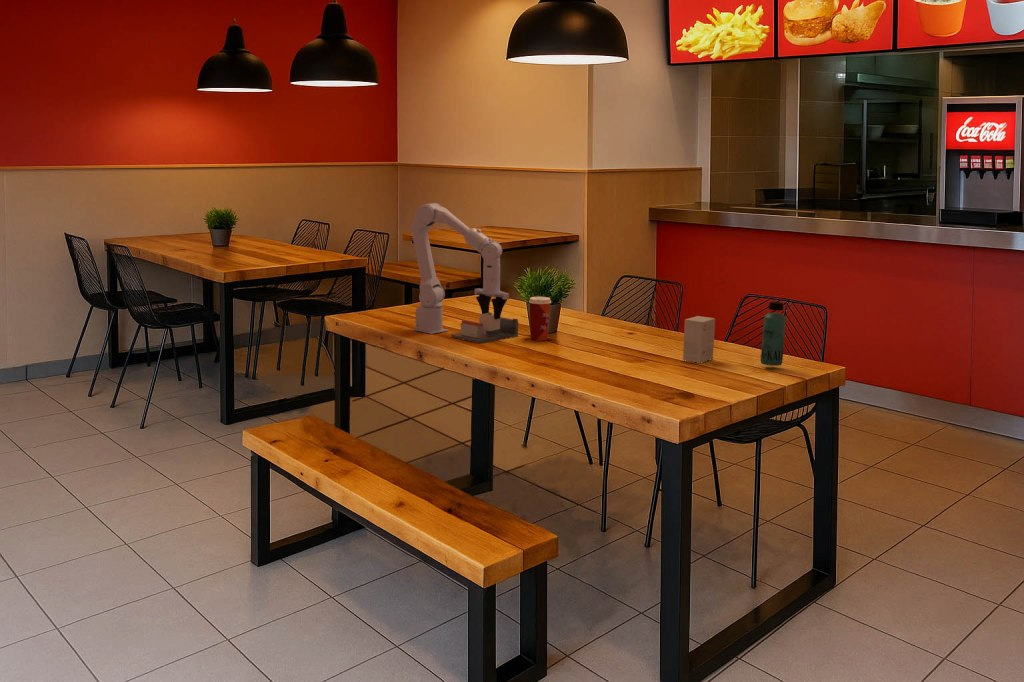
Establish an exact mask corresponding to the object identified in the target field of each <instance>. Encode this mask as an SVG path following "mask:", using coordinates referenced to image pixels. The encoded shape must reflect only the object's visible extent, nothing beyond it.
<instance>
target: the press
mask: <svg viewBox="0 0 1024 682" xmlns="http://www.w3.org/2000/svg"><path fill="white" fill-rule="evenodd" d="M515 336H517V337H519V320H518V318H506V317H502V316H500V329H498V330H493V331H487V330H484V337H482V338H473V337H468V336H464V335H461V332H458V333H451V334H450V337H451V338H452V337H454V338H453V339H457V338H459V339H458V340H461V339H464V340H463V341H466V340H468V341H467V342H470V341H472V342H471V343H475V342H476V343H475V344H479V343H482V344H486V343H485V342H487V343H490V341H492V342H496V341H495V340H497V341H501V340H500V339H502V340H506V339H505V338H507V339H511V338H510V337H512V338H516V337H515Z"/></svg>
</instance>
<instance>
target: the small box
mask: <svg viewBox="0 0 1024 682" xmlns="http://www.w3.org/2000/svg"><path fill="white" fill-rule="evenodd" d="M715 328H716V318H714V317H707V316H700V315H696V316H693V317H690V318H685V319H684V330H683V331H684V332H683V353H682V361H683V360H686V361H685V362H688V361H692V362H691V363H693V362H698V363H697V364H699V363H701V362H704V361H706V362H708V361H707V360H709V361H711V360H710V359H712V360H714V345H715ZM704 363H705V362H704ZM701 364H702V363H701Z"/></svg>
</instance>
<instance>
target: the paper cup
mask: <svg viewBox="0 0 1024 682" xmlns="http://www.w3.org/2000/svg"><path fill="white" fill-rule="evenodd" d="M528 303H529V321H530V323H529V325H530V326H529V328H530V339H531V340H532V341H535V340H539V341H538V342H543V341H542V340H545V341H548V339H549V329H550V328H549V325H550V314H551V313H550V312H551V304H552V300H551V298H550V297H547V296H531V297H530V298H529V300H528Z"/></svg>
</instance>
